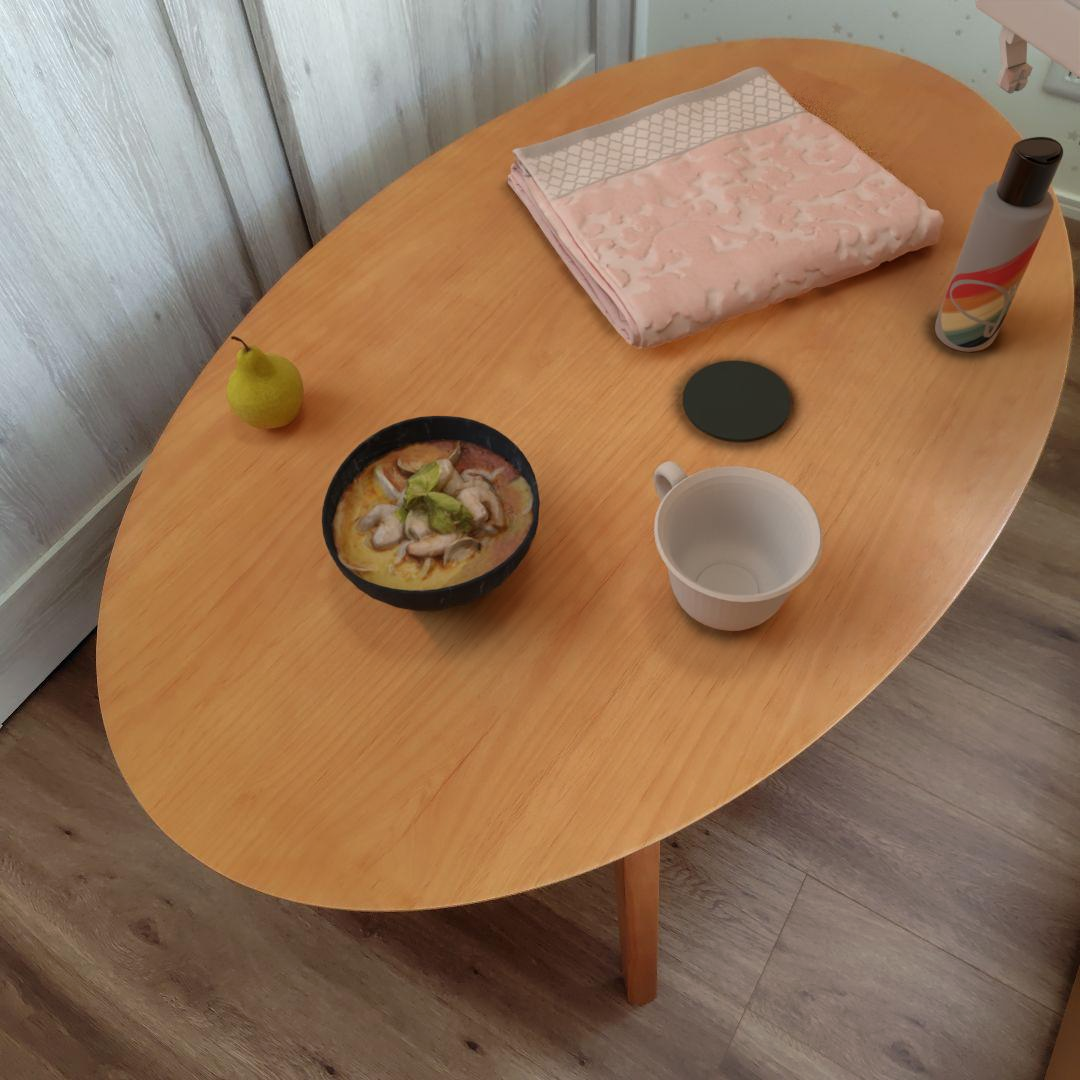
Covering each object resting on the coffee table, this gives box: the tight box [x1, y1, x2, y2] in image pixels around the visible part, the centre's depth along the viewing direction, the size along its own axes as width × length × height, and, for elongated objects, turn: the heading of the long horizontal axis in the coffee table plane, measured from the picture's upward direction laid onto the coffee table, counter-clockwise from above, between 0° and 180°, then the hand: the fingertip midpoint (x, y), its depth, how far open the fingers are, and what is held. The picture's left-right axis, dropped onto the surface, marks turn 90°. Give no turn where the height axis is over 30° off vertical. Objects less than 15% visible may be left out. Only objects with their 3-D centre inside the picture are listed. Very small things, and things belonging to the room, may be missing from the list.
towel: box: [507, 66, 945, 351], centre depth 101 cm, size 36×34×6 cm
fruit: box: [226, 335, 304, 430], centre depth 86 cm, size 7×7×12 cm
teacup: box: [653, 460, 824, 632], centre depth 73 cm, size 12×15×10 cm
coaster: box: [682, 360, 792, 443], centre depth 88 cm, size 10×10×1 cm
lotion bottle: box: [934, 136, 1064, 353], centre depth 83 cm, size 6×6×20 cm
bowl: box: [321, 415, 541, 612], centre depth 76 cm, size 17×17×10 cm
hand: (1049, 117), depth 73 cm, fingers open, 8 cm apart
